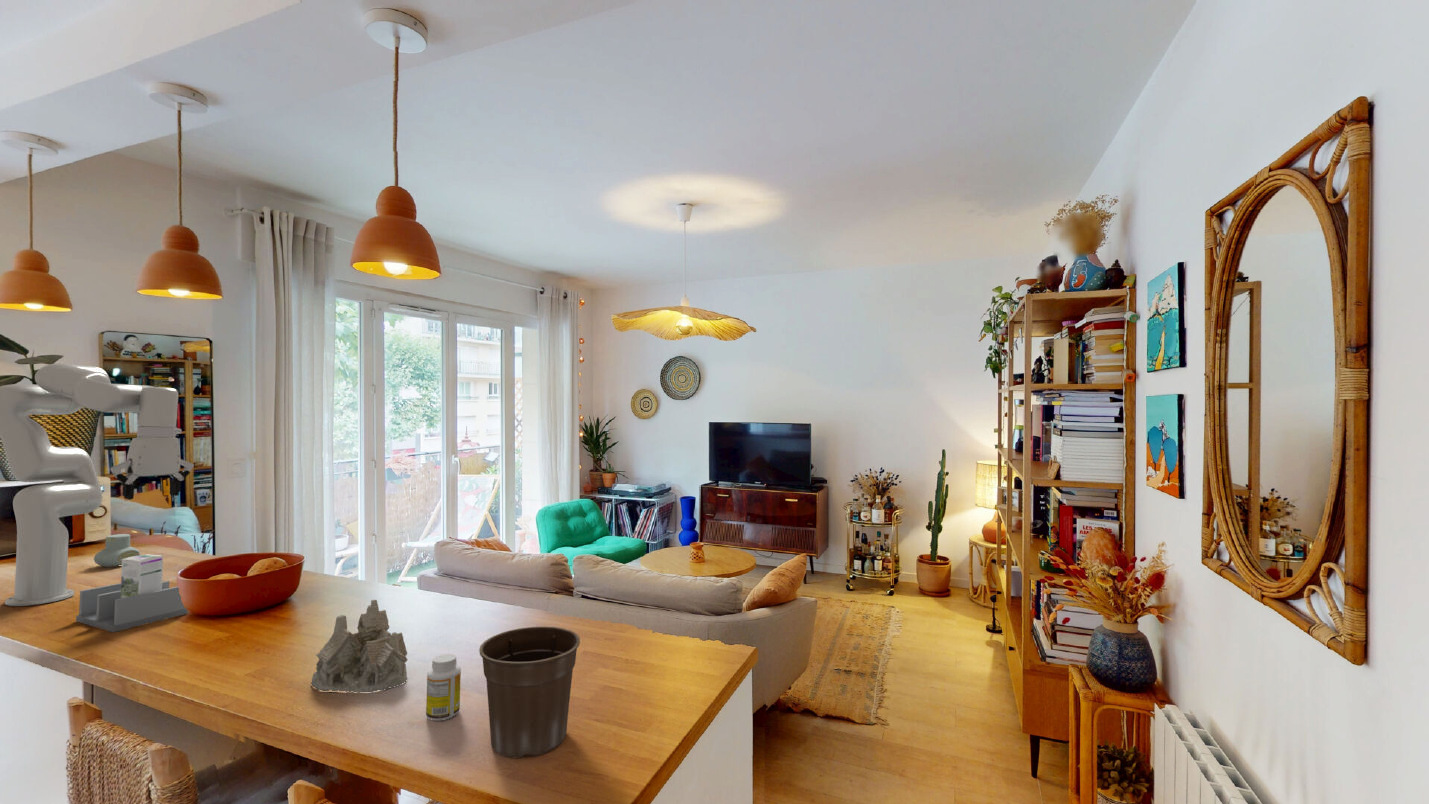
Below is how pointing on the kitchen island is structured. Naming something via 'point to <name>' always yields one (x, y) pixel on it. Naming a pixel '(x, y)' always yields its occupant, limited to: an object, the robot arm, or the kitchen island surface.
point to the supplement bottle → (443, 688)
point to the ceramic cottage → (362, 656)
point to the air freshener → (115, 551)
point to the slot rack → (127, 607)
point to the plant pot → (529, 688)
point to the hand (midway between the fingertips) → (151, 496)
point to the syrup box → (141, 574)
